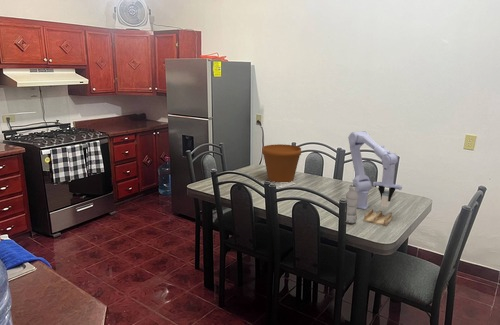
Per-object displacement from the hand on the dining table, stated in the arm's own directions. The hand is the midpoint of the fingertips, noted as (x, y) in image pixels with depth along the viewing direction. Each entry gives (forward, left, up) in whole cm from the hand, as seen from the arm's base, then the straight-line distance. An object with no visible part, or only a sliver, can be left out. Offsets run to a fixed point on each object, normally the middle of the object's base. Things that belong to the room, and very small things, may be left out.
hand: (385, 200), depth 195 cm
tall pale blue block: (0, 0, -3) cm, 3 cm away
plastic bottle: (-13, -18, -10) cm, 24 cm away
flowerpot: (-82, +31, -10) cm, 88 cm away
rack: (-2, -6, -10) cm, 12 cm away
